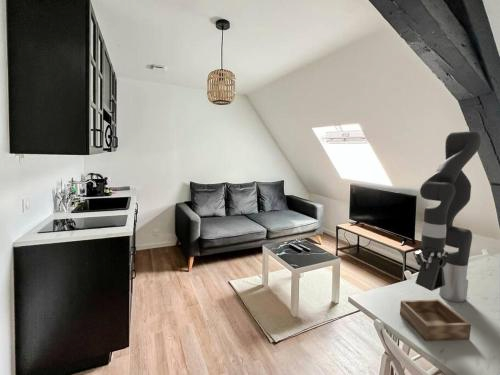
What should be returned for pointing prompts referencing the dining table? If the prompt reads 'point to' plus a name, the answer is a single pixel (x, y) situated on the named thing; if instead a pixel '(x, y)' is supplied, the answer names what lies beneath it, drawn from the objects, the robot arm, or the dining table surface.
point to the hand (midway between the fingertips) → (430, 276)
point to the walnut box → (435, 320)
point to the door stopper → (432, 275)
